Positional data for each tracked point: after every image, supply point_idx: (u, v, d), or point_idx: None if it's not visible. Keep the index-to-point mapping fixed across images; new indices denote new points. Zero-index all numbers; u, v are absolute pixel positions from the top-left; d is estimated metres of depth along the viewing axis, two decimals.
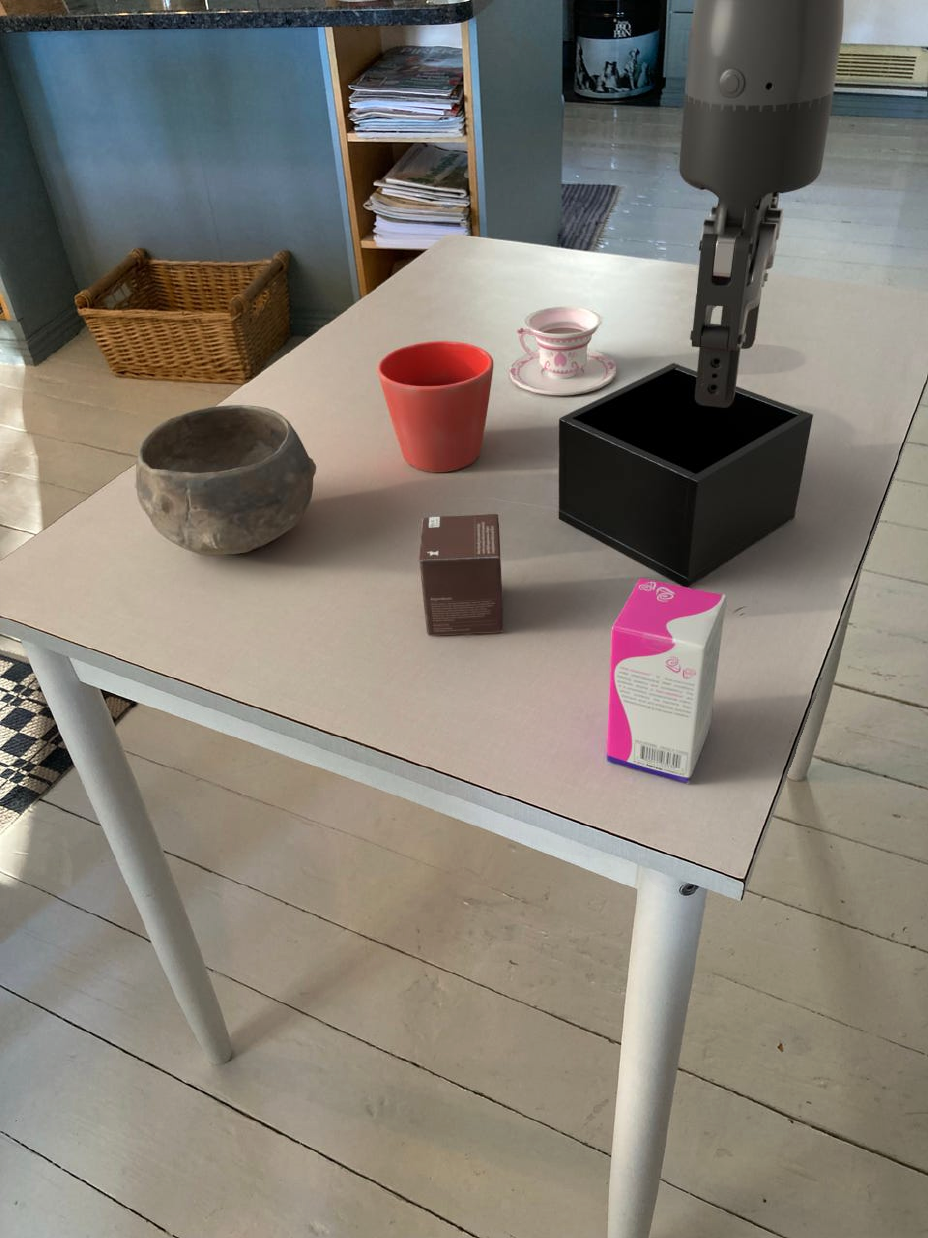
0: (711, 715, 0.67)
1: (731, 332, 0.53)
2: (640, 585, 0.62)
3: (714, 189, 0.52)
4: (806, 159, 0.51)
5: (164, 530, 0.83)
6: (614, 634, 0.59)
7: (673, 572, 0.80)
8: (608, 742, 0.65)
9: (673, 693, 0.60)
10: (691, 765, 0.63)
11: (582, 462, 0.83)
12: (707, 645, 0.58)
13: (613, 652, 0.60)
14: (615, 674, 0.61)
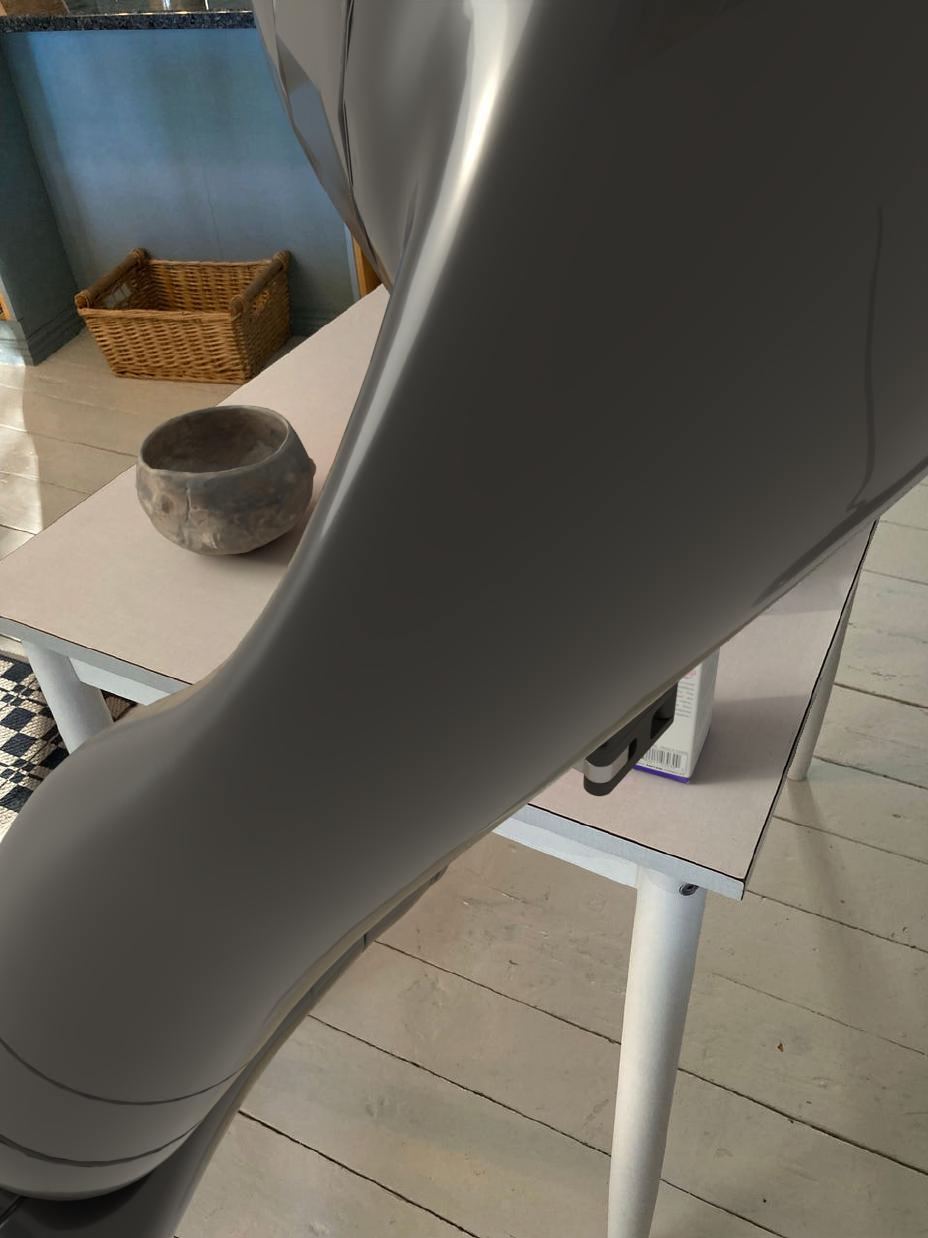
0: (711, 715, 0.67)
1: (669, 695, 0.40)
2: None
3: None
4: None
5: (164, 530, 0.83)
6: None
7: None
8: None
9: None
10: (691, 765, 0.63)
11: None
12: None
13: None
14: None
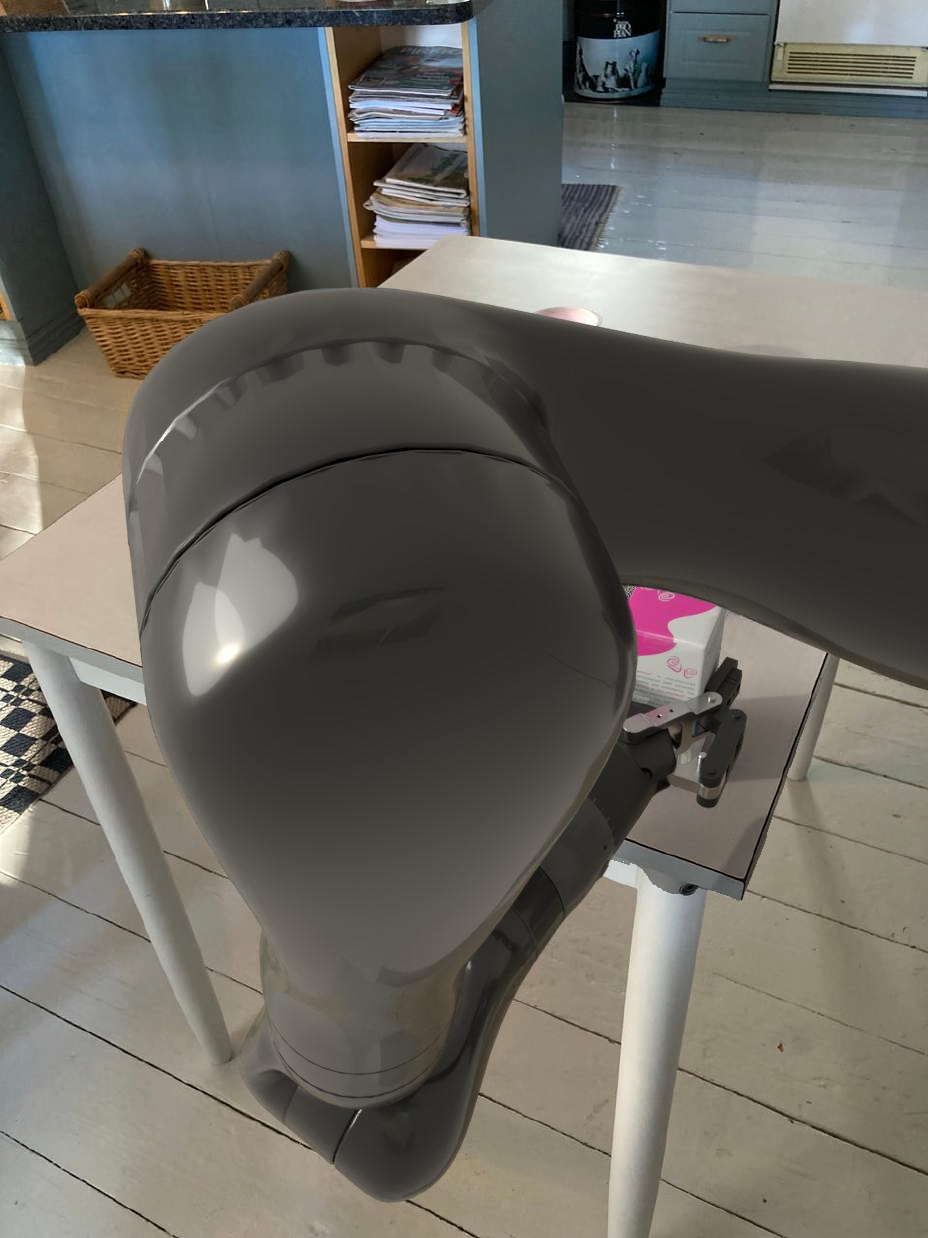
0: None
1: None
2: None
3: (643, 811, 0.56)
4: (615, 764, 0.53)
5: None
6: None
7: None
8: None
9: (674, 693, 0.60)
10: None
11: None
12: (709, 645, 0.58)
13: None
14: None
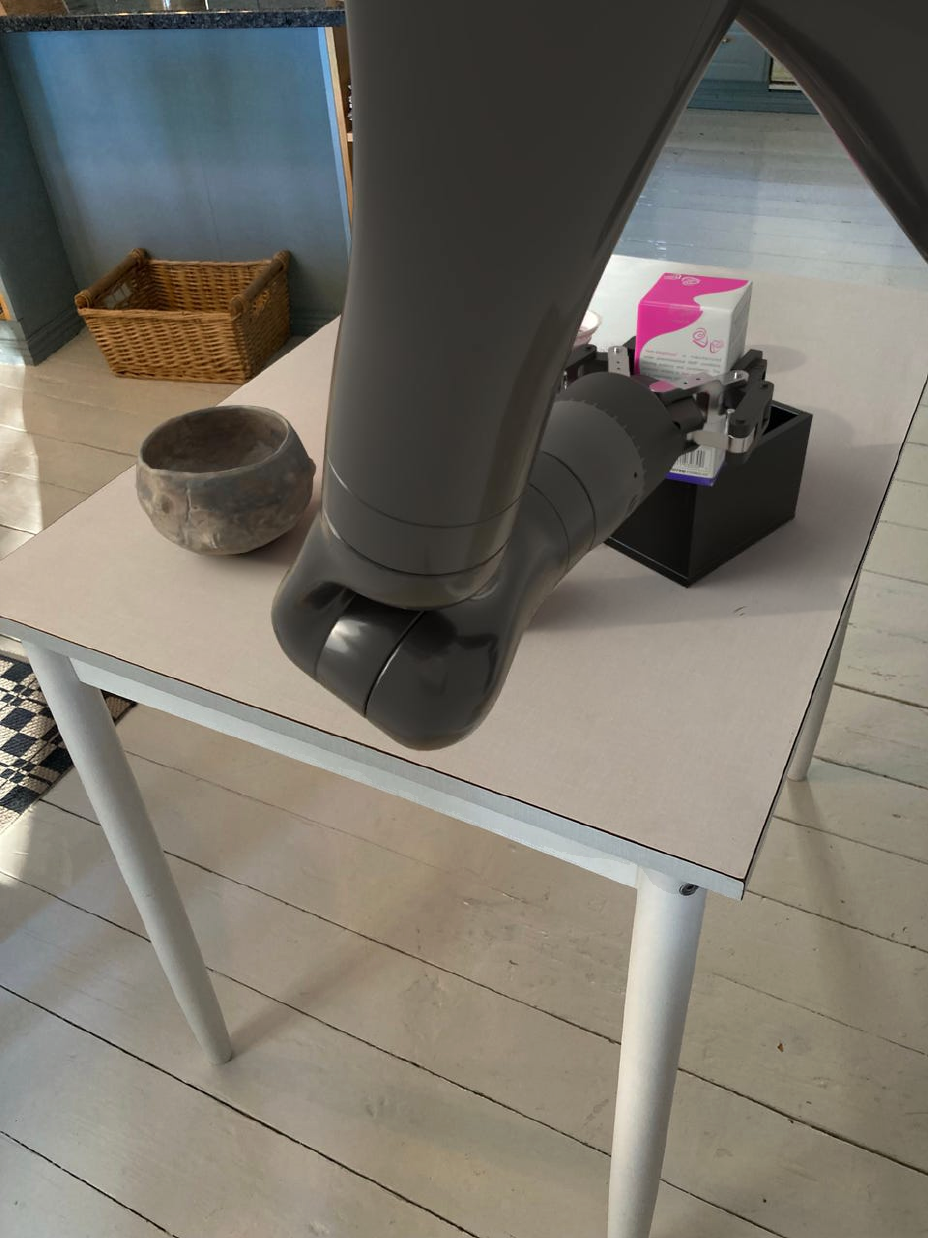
0: None
1: None
2: (665, 276, 0.62)
3: (671, 468, 0.55)
4: (644, 401, 0.52)
5: (164, 530, 0.83)
6: (640, 309, 0.59)
7: (673, 572, 0.80)
8: None
9: None
10: (715, 462, 0.62)
11: None
12: (736, 312, 0.57)
13: (639, 332, 0.60)
14: (640, 360, 0.60)
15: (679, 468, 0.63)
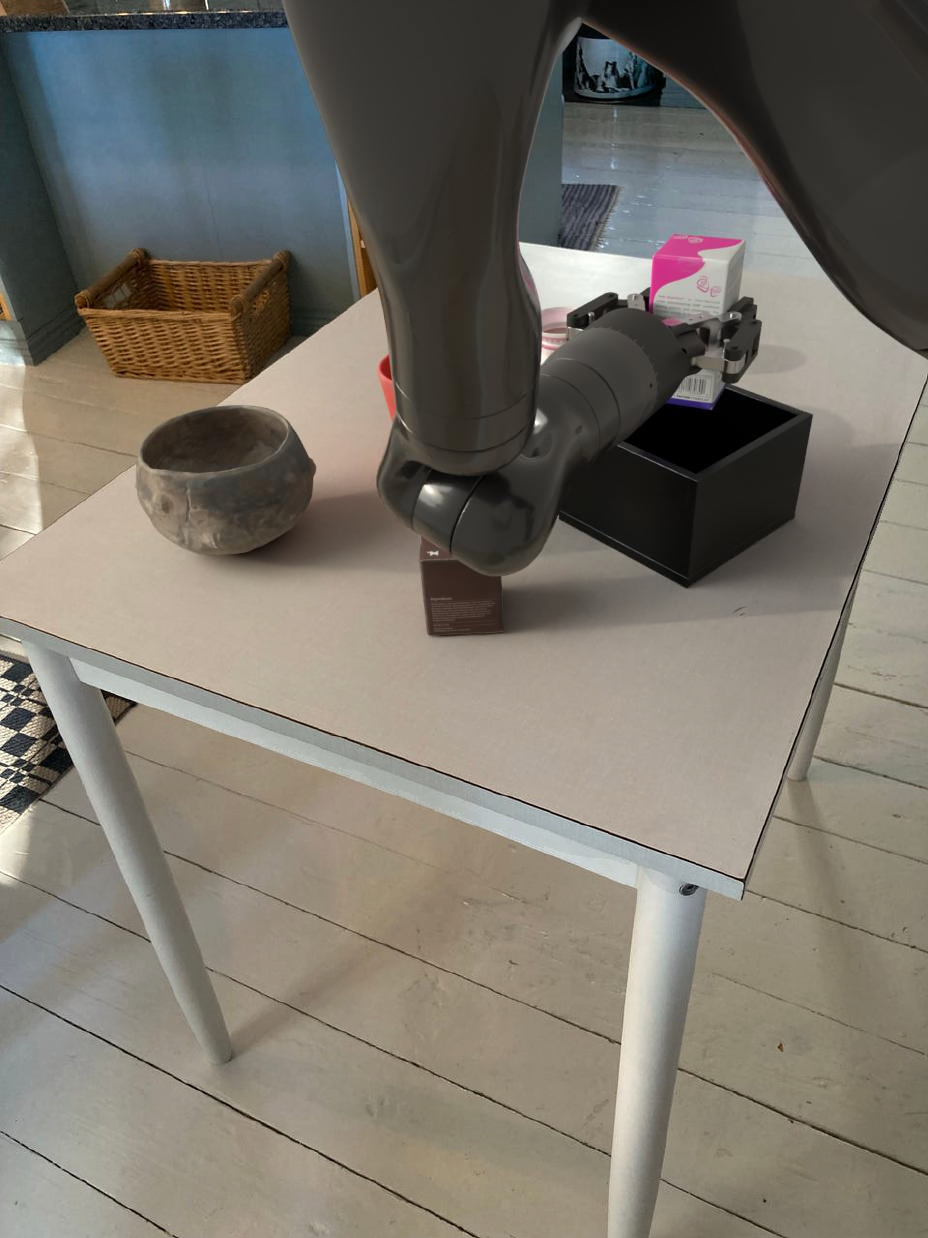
0: None
1: None
2: (675, 236, 0.76)
3: None
4: (657, 330, 0.66)
5: (164, 530, 0.83)
6: (654, 261, 0.73)
7: (673, 572, 0.80)
8: None
9: None
10: (714, 389, 0.76)
11: None
12: (731, 263, 0.71)
13: (653, 281, 0.73)
14: (654, 304, 0.74)
15: (685, 395, 0.77)
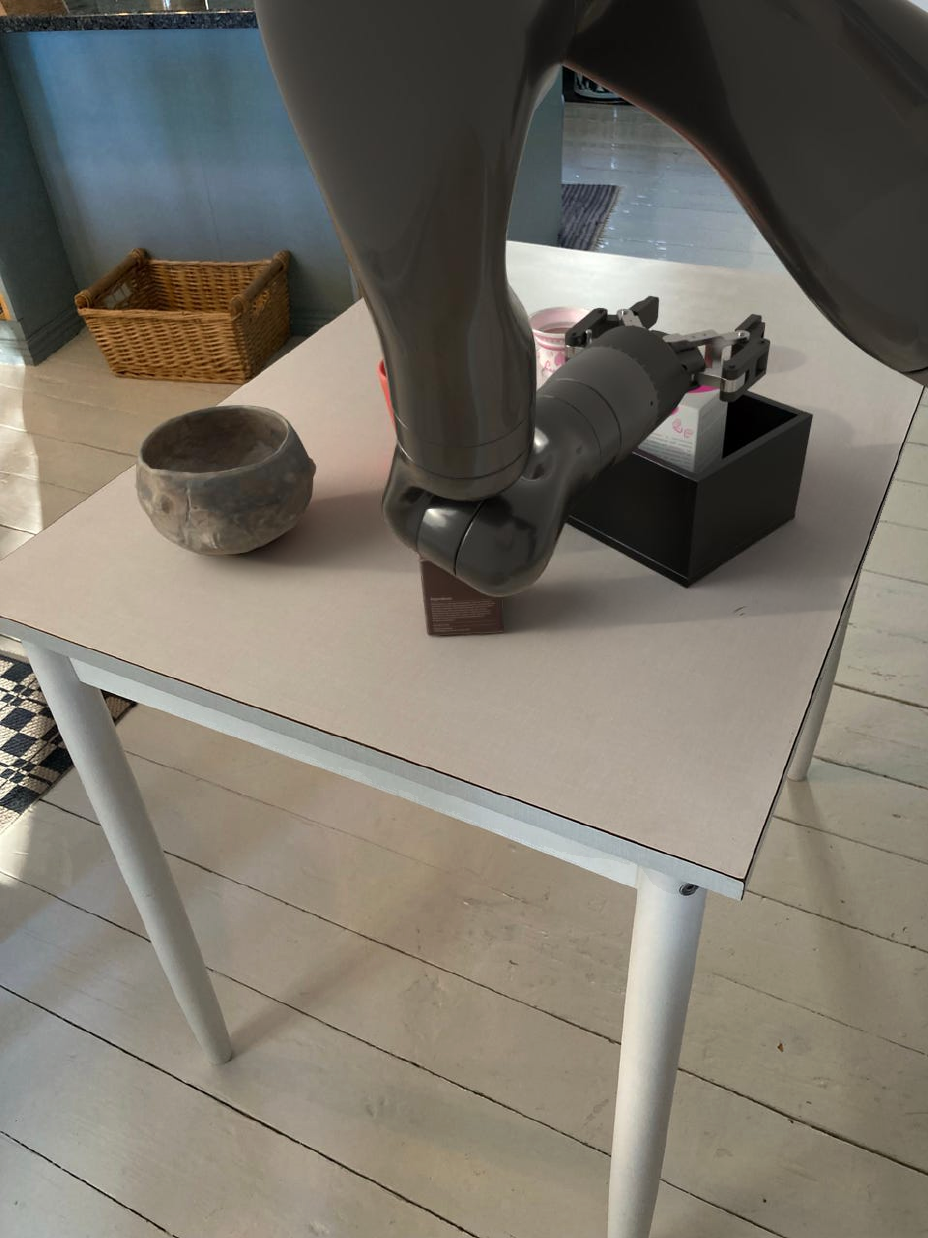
0: None
1: (765, 350, 0.71)
2: None
3: None
4: (658, 347, 0.67)
5: (164, 530, 0.83)
6: None
7: (673, 572, 0.80)
8: None
9: (677, 451, 0.80)
10: None
11: None
12: (702, 410, 0.78)
13: None
14: None
15: None
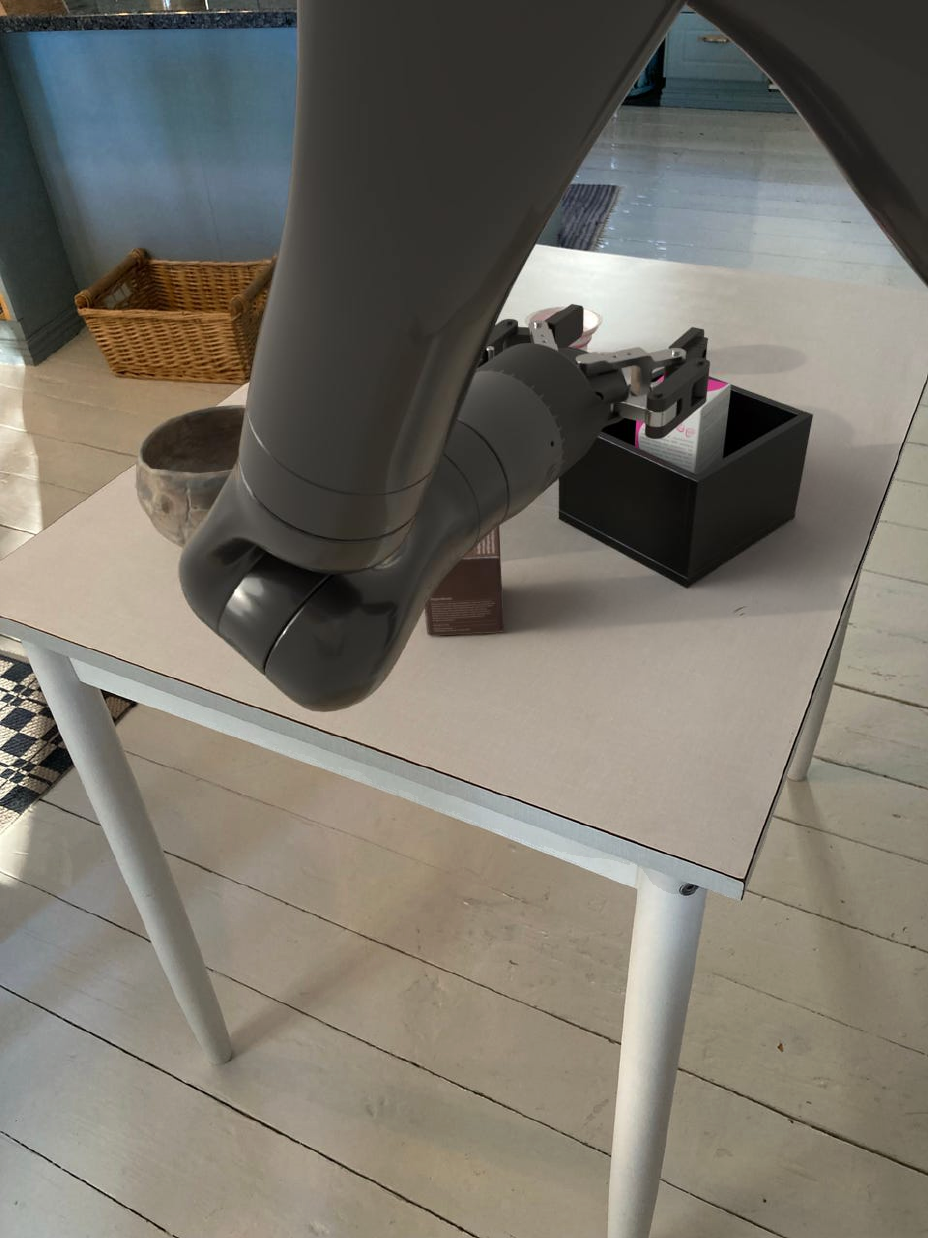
0: None
1: (703, 374, 0.57)
2: None
3: (595, 439, 0.56)
4: (563, 372, 0.53)
5: (164, 530, 0.83)
6: None
7: (673, 572, 0.80)
8: None
9: (679, 450, 0.81)
10: None
11: (582, 462, 0.83)
12: (704, 410, 0.78)
13: None
14: (639, 435, 0.82)
15: None
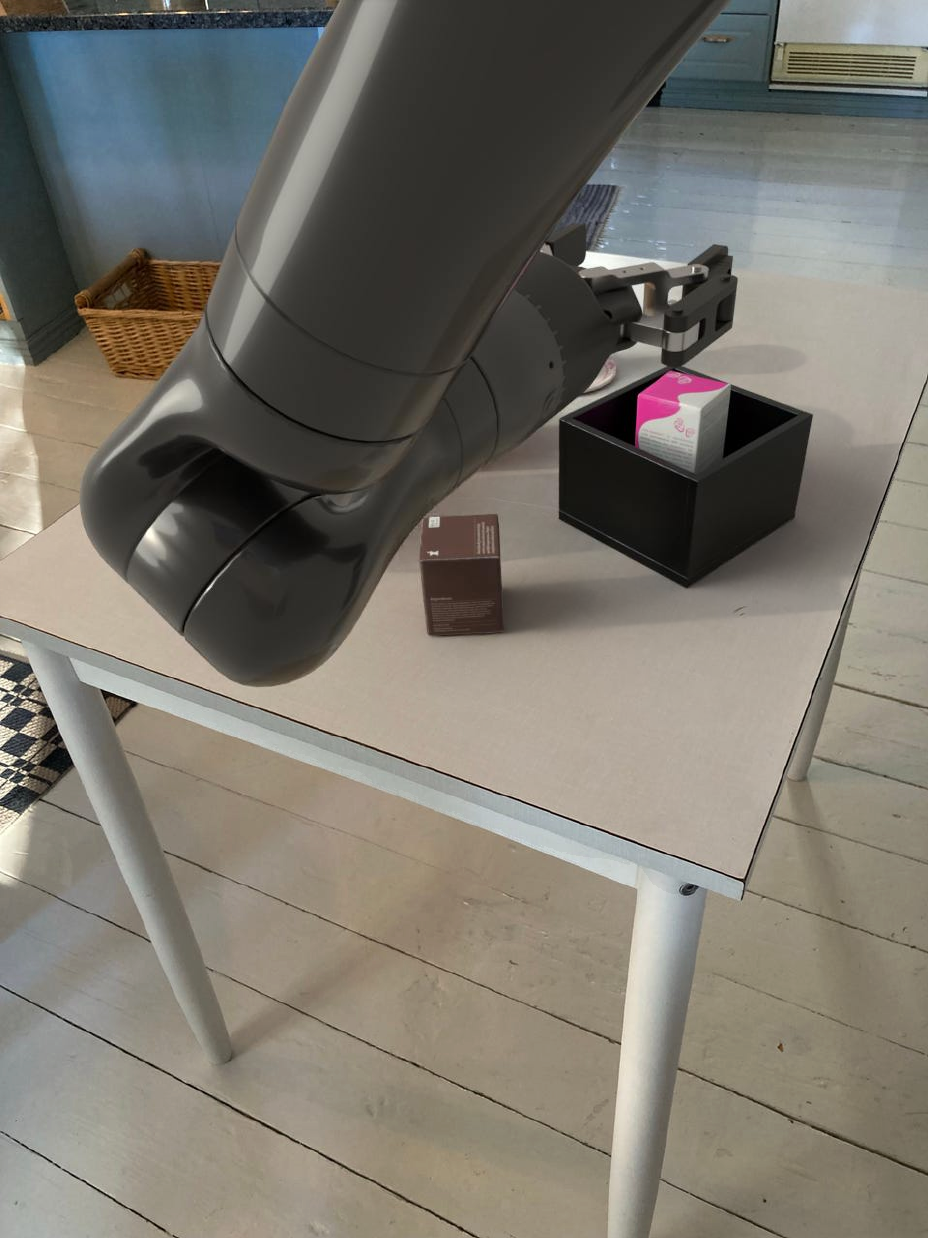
0: None
1: (730, 291, 0.48)
2: (669, 374, 0.83)
3: (602, 367, 0.47)
4: (565, 281, 0.44)
5: None
6: (639, 400, 0.80)
7: (673, 572, 0.80)
8: None
9: (679, 450, 0.81)
10: None
11: (582, 462, 0.83)
12: (704, 409, 0.78)
13: (638, 416, 0.81)
14: (639, 435, 0.82)
15: None
